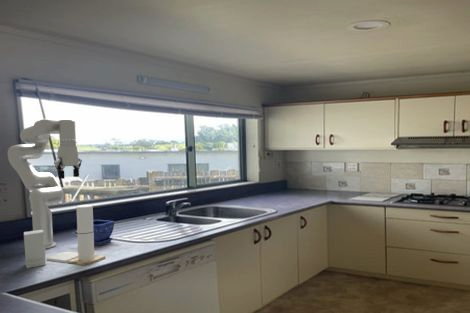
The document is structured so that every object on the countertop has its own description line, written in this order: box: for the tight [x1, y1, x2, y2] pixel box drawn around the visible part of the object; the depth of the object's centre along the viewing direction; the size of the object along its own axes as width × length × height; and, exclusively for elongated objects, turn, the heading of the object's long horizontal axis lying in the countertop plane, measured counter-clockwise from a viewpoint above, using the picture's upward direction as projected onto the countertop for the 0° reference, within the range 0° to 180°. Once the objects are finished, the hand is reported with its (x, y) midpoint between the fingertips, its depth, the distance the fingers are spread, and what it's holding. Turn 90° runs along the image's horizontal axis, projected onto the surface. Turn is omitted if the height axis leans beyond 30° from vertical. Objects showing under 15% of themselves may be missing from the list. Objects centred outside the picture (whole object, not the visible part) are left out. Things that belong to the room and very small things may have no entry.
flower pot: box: [93, 219, 115, 247], centre depth 225 cm, size 13×13×12 cm
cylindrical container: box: [76, 204, 95, 261], centre depth 193 cm, size 7×7×25 cm
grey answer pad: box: [46, 251, 78, 263], centre depth 199 cm, size 12×12×1 cm
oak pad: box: [66, 254, 106, 266], centre depth 194 cm, size 12×12×1 cm
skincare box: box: [23, 230, 47, 269], centre depth 188 cm, size 8×7×16 cm
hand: (69, 177), depth 206 cm, fingers open, 9 cm apart
